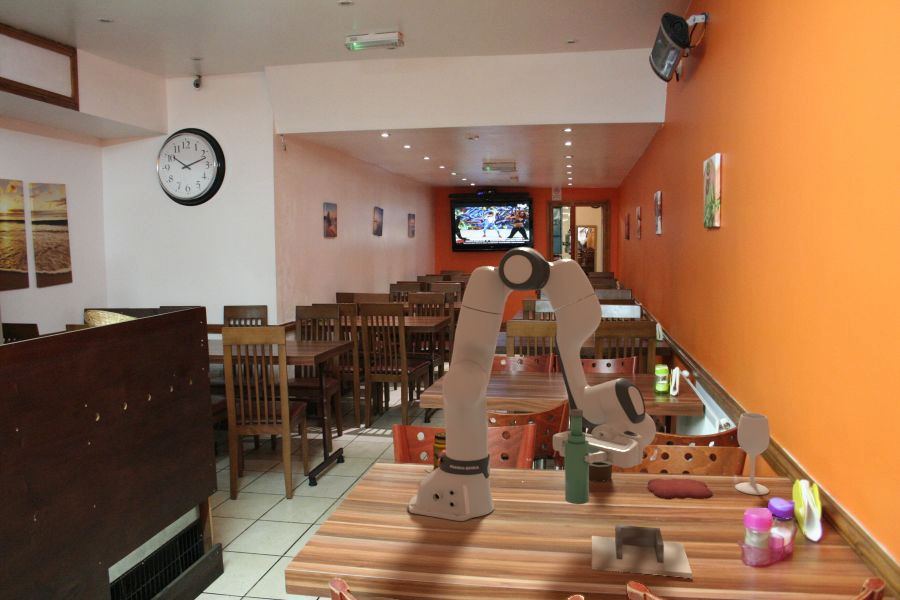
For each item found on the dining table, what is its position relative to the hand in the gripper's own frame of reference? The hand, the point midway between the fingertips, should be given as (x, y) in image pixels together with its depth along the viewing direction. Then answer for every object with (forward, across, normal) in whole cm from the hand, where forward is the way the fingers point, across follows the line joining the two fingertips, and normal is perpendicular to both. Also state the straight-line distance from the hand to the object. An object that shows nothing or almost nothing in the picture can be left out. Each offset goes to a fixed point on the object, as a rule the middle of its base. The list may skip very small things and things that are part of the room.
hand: (574, 456), depth 142 cm
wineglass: (-68, +12, +23) cm, 73 cm away
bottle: (-1, 0, +10) cm, 10 cm away
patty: (-53, -3, +24) cm, 58 cm away
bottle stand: (-8, +11, +22) cm, 26 cm away
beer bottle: (-46, -24, +23) cm, 57 cm away
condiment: (-16, -61, +22) cm, 67 cm away
